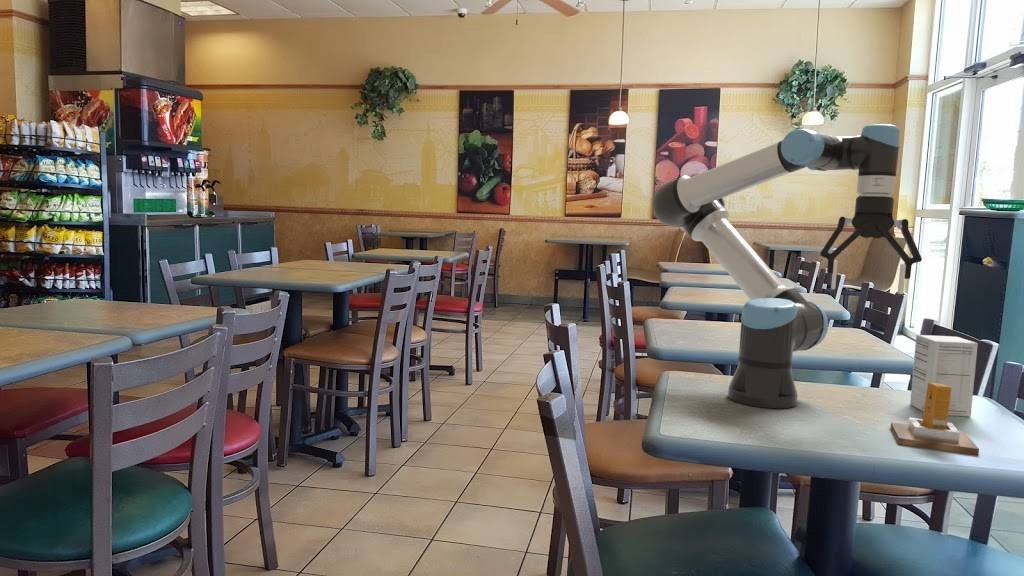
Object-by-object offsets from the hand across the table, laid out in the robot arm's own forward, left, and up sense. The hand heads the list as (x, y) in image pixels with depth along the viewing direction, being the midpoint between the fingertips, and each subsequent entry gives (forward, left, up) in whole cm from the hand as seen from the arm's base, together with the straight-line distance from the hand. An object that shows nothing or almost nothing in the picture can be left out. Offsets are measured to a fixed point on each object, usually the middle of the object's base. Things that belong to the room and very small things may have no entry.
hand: (866, 291), depth 158 cm
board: (+12, -21, -27) cm, 36 cm away
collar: (+12, -21, -26) cm, 35 cm away
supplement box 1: (+18, +8, -27) cm, 33 cm away
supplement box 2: (+12, -21, -26) cm, 35 cm away
